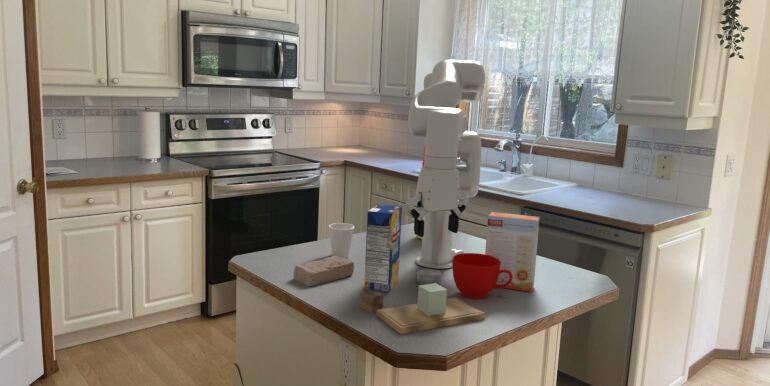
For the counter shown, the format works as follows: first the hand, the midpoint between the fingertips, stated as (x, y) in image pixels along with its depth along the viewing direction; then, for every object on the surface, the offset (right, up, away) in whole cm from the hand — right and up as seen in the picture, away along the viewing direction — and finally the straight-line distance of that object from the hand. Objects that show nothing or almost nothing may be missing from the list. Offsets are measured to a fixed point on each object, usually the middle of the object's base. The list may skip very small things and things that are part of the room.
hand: (436, 233), depth 147 cm
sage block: (-1, -19, +3) cm, 20 cm away
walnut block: (-16, -20, +7) cm, 26 cm away
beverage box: (-13, -16, +25) cm, 33 cm away
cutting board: (-1, -21, +3) cm, 21 cm away
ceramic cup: (+14, -19, +20) cm, 31 cm away
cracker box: (+23, -17, +30) cm, 41 cm away
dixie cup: (-27, -11, +52) cm, 59 cm away
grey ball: (0, -16, +29) cm, 34 cm away
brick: (-30, -15, +30) cm, 45 cm away
